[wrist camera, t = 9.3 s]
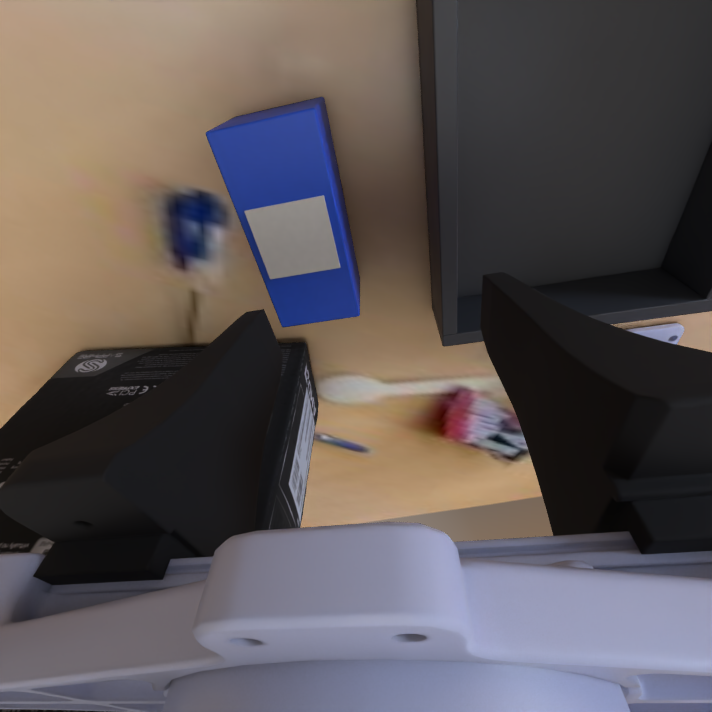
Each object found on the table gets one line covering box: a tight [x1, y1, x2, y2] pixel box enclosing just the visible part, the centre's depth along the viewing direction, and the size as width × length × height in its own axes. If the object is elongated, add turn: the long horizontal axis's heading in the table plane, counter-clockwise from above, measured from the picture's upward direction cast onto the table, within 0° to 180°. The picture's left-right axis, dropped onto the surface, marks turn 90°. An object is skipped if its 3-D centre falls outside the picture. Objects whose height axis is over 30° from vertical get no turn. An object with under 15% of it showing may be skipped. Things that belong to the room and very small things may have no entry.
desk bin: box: [416, 0, 712, 346], centre depth 15 cm, size 17×14×4 cm
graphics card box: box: [0, 342, 318, 712], centre depth 16 cm, size 17×7×27 cm, turn 95°
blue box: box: [206, 97, 360, 327], centre depth 17 cm, size 9×4×4 cm, turn 10°
